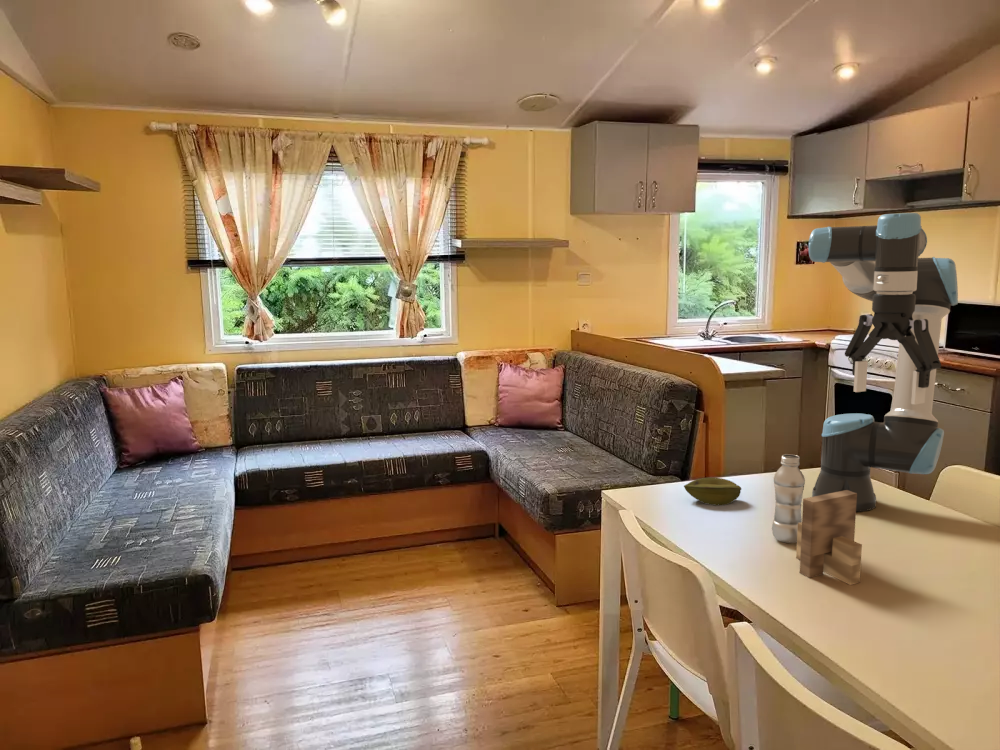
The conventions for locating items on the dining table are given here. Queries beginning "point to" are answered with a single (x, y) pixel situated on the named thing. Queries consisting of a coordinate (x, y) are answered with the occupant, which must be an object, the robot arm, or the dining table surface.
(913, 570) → the dining table surface
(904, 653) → the dining table surface
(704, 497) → the fruit
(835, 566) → the oak slot board
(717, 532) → the dining table surface
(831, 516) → the wooden flat notched block
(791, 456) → the plastic bottle
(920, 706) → the dining table surface
